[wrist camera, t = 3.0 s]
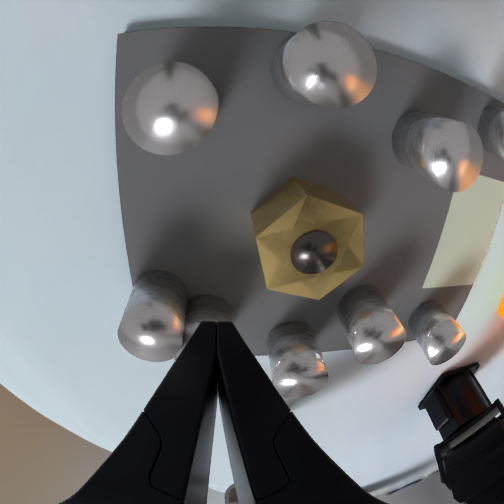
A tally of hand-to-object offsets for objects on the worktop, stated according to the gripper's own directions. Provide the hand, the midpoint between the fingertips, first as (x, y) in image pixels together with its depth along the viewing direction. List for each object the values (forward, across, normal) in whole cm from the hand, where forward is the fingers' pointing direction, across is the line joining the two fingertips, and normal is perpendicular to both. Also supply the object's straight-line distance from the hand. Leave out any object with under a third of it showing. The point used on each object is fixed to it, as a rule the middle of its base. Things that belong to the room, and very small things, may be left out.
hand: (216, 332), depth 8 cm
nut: (+7, -4, 0) cm, 8 cm away
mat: (+8, -7, 0) cm, 10 cm away
